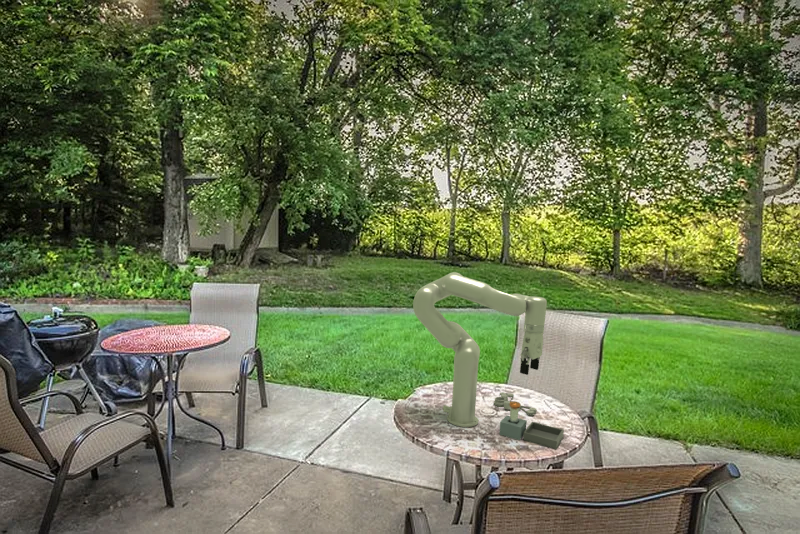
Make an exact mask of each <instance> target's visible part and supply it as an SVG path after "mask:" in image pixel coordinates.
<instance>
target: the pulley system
mask: <svg viewBox="0 0 800 534" xmlns="http://www.w3.org/2000/svg"><path fill="white" fill-rule="evenodd" d="M500 395H501V396H500ZM511 397H512V398H511ZM514 397H515V395H514V393H511V392H510V393H507V392H504V391H501V392H499V396H496V397H494V400H493V406H494V405H495V406H494V407H496V406H497V407H496V408H499V407H504V408H503V409H505V410H510V409H511V407H510V406H509V404H510V402H511V400H513V399H514ZM509 398H510V400H509ZM526 409H527V410H526ZM537 410H538V409H537V408H535V407H530V406H525V405H521V403H520V408H519V410H518V412H520V411H522V412H524V413H525V414H526V415H527V416H529V417H532V416H534V415H535V414H536V413H537Z"/></svg>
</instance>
